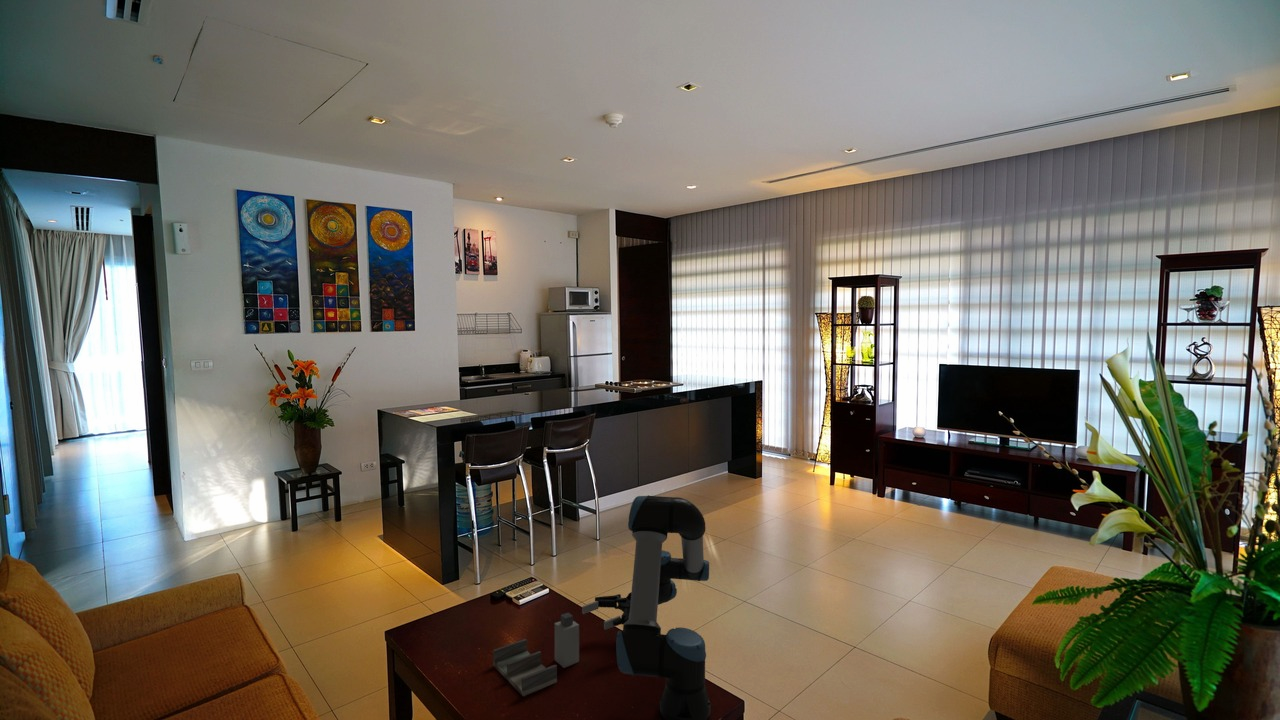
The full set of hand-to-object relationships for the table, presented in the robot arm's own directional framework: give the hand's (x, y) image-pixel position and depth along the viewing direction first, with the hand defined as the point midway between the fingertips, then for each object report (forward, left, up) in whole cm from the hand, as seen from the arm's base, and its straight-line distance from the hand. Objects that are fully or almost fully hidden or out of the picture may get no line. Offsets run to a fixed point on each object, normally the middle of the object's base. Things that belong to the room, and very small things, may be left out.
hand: (593, 617), depth 213 cm
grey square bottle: (0, +11, -12) cm, 16 cm away
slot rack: (+2, +26, -12) cm, 28 cm away
